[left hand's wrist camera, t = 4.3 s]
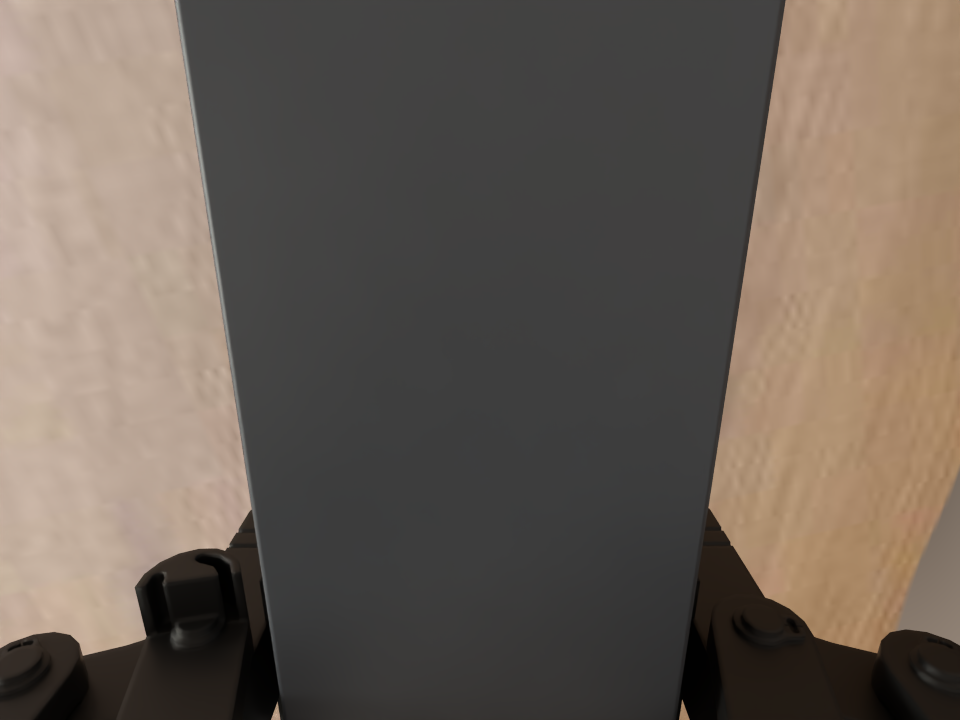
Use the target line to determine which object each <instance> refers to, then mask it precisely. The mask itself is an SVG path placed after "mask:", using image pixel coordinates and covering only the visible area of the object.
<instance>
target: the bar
mask: <svg viewBox="0 0 960 720" xmlns="http://www.w3.org/2000/svg"><path fill="white" fill-rule="evenodd" d="M175 7H176V13H177V20H178V27H179V33H180V40H181V46H182V53H183V59H184V66H185V73H186V79H187V86H188V92H189V99H190V105H191V112H192V119H193V125H194V132H195V138H196V145H197V152H198V158H199V165H200V171H201V178H202V184H203V191H204V198H205V204H206V211H207V217H208V224H209V230H210V237H211V244H212V250H213V257H214V263H215V270H216V277H217V283H218V290H219V296H220V303H221V309H222V316H223V323H224V329H225V336H226V342H227V349H228V355H229V362H230V369H231V375H232V382H233V388H234V395H235V401H236V408H237V415H238V421H239V428H240V434H241V441H242V448H243V454H244V461H245V467H246V474H247V480H248V487H249V494H250V500H251V507H252V513H253V520H254V526H255V533H256V540H257V546H258V553H259V559H260V566H261V572H262V579H263V586H264V592H265V599H266V605H267V612H268V619H269V625H270V632H271V638H272V645H273V651H274V658H275V665H276V671H277V678H278V684H279V691H280V697H281V704H282V711H283V717H284V720H676V716H677V710H678V703H679V697H680V690H681V684H682V677H683V670H684V664H685V657H686V651H687V644H688V638H689V631H690V624H691V618H692V611H693V605H694V598H695V592H696V585H697V578H698V572H699V565H700V559H701V552H702V546H703V539H704V532H705V526H706V519H707V513H708V506H709V500H710V493H711V486H712V480H713V473H714V467H715V460H716V454H717V447H718V440H719V434H720V427H721V421H722V414H723V408H724V401H725V394H726V388H727V381H728V375H729V368H730V362H731V355H732V348H733V342H734V335H735V329H736V322H737V316H738V309H739V302H740V296H741V289H742V283H743V276H744V270H745V263H746V256H747V250H748V243H749V237H750V230H751V224H752V217H753V210H754V204H755V197H756V191H757V184H758V178H759V171H760V164H761V158H762V151H763V145H764V138H765V132H766V125H767V118H768V112H769V105H770V99H771V92H772V86H773V79H774V72H775V66H776V59H777V53H778V46H779V40H780V33H781V26H782V20H783V13H784V7H785V0H175Z"/></svg>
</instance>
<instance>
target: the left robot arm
mask: <svg viewBox="0 0 960 720" xmlns="http://www.w3.org/2000/svg"><path fill="white" fill-rule="evenodd" d="M135 590H136V594H137V598H138V602H139V607H140V611H141V615H142V619H143V623H144V627H145V631H146V635H147V637H146V639H145V640H143V641H140V642H136V643H133V644H130V645H127V646H123V647H118V648H114V649H110V650H106V651H102V652H98V653H93V654H89V655H85V656H83V655H82V652H81V648H80V645H79V643H78V642H77V641H76V640H75V639H74V638H73V637H72V636H71V635H67V634H62V633H56V632H51V633H43V634H36V635H31V636H29V637H26V638H23V639H20V640H17V641H14V642H11V643H9V644H7V645H6V646H4V647H2V648H0V720H271V718H272V715H273V713H274V710H275V707H276V704H277V701H278V706H279V713H280V719H281V720H284V717H283V711H282V704H281V697H280V691H279V684H278V678H277V671H276V665H275V658H274V651H273V645H272V638H271V632H270V625H269V619H268V612H267V605H266V599H265V592H264V586H263V579H262V572H261V566H260V559H259V553H258V546H257V540H256V533H255V526H254V520H253V513H252V510H251V511H250V512H249V514H248V515H247V517H246V518H245V520H244V522H243V523H242V525H241V526H240V528H239V532H238V533H236V534H235V536H234V538H233V539H232V541H231V543H230V546H229V548H227V549H226V551H223V550H220V549H197V550H192V551H188V552H184V553H180V554H177V555H175V556H173V557H171V558H169V559H166V560H164V561H162V562H160V563H159V564H157V565H156V566H155V567H153V568H152V569H151V570H149V571H148V572H147V573H145V574H144V575H143V577H142V578H141V580H140V581H139V582H138V584H137V585H136V586H135ZM682 700H683V702H684V705H685V708H686V711H687V714H688V716H689V719H690V720H960V646H959V645H958V644H956V643H954V642H952V641H951V640H948V639H945V638H942V637H939V636H936V635H933V634H930V633H928V632H921V631H913V630H901V631H895V632H890V633H889V634H888V635H887V636H886V637H885V638H884V639H883V640H881V643H880V646H879V650H878V653H873V652H869V651H864V650H860V649H856V648H852V647H848V646H843V645H839V644H835V643H831V642H828V641H825V640H822V639H819V638H816V637H814V636H813V634H812V633H811V631H810V629H809V628H808V626H807V625H806V623H805V622H804V621H803V620H802V619H801V618H800V617H799V616H797V615H796V614H795V613H794V612H793V611H792V610H790V609H789V608H787V607H785V606H783V605H781V604H779V603H777V602H775V601H773V600H771V599H767V598H765V597H764V595H763V594H762V592H761V590H760V589H759V587H758V586H757V584H756V582H755V581H754V579H753V578H752V576H751V574H750V573H749V571H748V570H747V568H746V566H745V565H744V563H743V562H742V560H741V558H740V557H739V555H738V554H737V552H736V550H735V549H734V547H733V546H731V545H730V541H729V539H728V538H727V536H726V534H725V533H724V531H721V526H720V525H719V523H718V521H717V520H716V518H715V517H714V515H713V513H712V512H711V510H710V509H709V508H708V513H707V519H706V526H705V532H704V539H703V546H702V552H701V559H700V565H699V572H698V578H697V585H696V592H695V598H694V605H693V611H692V618H691V624H690V631H689V638H688V644H687V651H686V657H685V664H684V670H683V677H682V684H681V690H680V697H679V703H678V710H677V716H676V720H679V716H680V710H681V703H682Z"/></svg>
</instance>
